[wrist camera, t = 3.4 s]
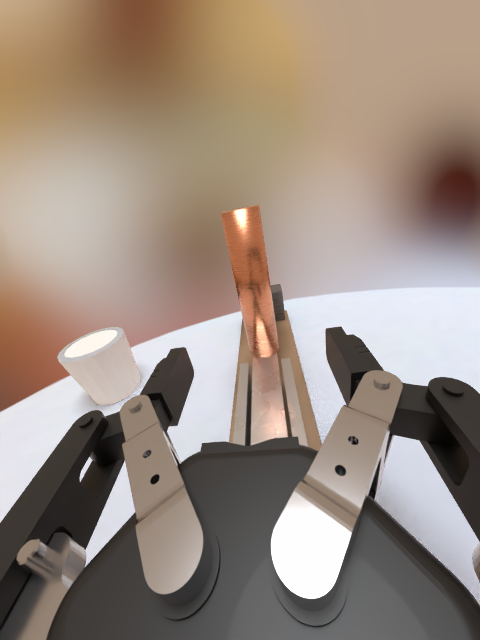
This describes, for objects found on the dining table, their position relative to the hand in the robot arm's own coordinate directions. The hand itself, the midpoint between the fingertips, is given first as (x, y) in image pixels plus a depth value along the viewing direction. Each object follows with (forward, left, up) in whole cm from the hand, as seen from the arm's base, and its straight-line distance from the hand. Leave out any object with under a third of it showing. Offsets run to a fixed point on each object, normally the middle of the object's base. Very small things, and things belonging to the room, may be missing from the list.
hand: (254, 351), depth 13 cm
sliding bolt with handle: (0, -5, -9) cm, 10 cm away
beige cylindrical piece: (+19, -10, -10) cm, 24 cm away
